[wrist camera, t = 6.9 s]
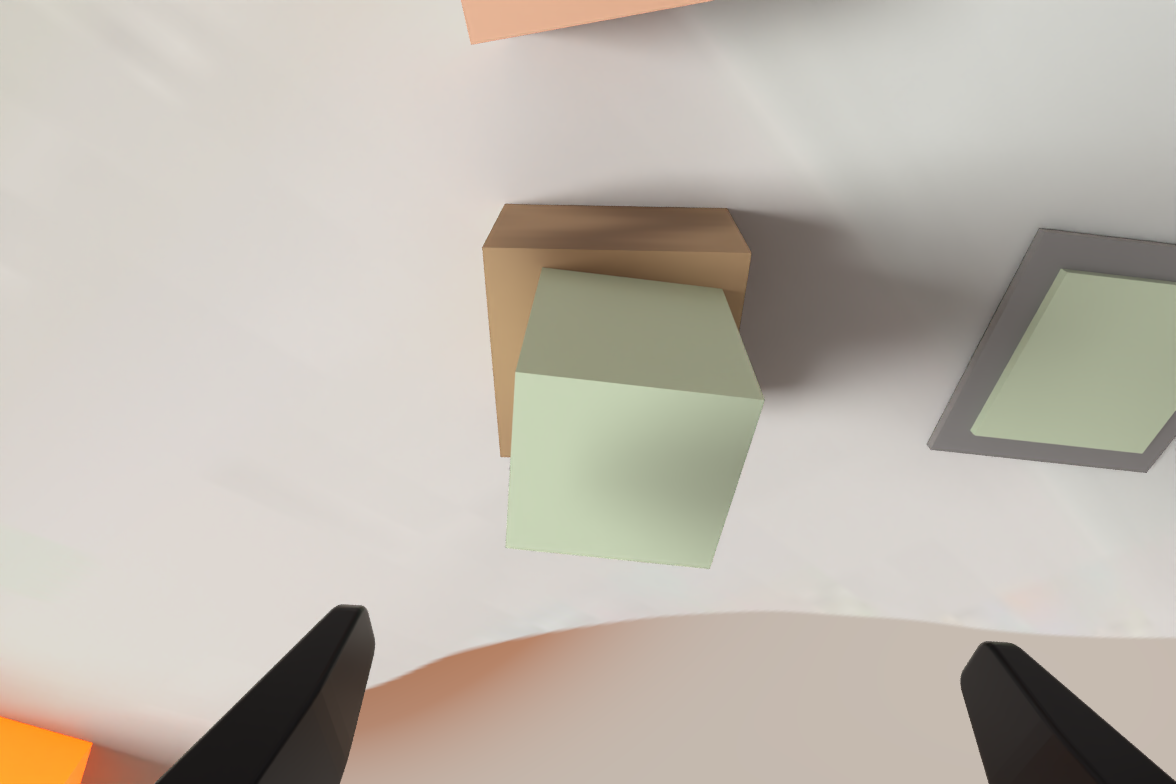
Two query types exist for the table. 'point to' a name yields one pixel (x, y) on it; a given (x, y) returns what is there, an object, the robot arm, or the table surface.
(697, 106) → the table surface
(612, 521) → the sage block
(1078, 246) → the tile
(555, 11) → the terracotta block
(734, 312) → the walnut base
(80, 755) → the orange juice
